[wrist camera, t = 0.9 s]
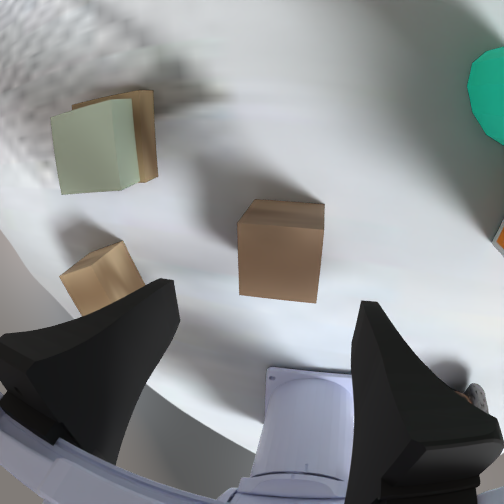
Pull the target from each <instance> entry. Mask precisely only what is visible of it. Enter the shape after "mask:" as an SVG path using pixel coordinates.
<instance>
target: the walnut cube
mask: <svg viewBox="0 0 504 504" xmlns="http://www.w3.org/2000/svg"><path fill="white" fill-rule="evenodd" d="M324 209H325V204H316V203H303V202H290V201H275V200H259V199H255V200H254V201H253V203H252V204H251V205H250V206H249V208H248V209H247V210H246V212H245V213H244V214H243V216H242V217H241V218H240V220H239V221H238V222H237V234H238V268H239V295H244V296H253V297H261V298H270V299H279V300H288V301H297V302H307V303H316V300H317V292H318V284H319V275H320V266H321V256H322V246H323V236H324Z"/></svg>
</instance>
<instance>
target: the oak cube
mask: <svg viewBox="0 0 504 504" xmlns="http://www.w3.org/2000/svg"><path fill="white" fill-rule="evenodd" d="M59 277H60V279H61V281H62V282H63V284H64V286H65V288H66V290H67V291H68V293H69V295H70V297H71V298H72V300H73V302H74V303H75V305H76V307H77V308H78V310H79V312H80V313H81V315H82V316H85V315H88V314H90V313H92V312H95V311H97V310H99V309H101V308H103V307H105V306H107V305H109V304H111V303H113V302H115V301H117V300H119V299H121V298H123V297H125V296H127V295H128V294H130V293H132V292H134V291H136V290H138V289H140V288H141V287H143V286H145V283H144V282H143V280H142V278H141V276H140V274H139V272H138V270H137V268H136V266H135V264H134V262H133V260H132V258H131V256H130V254H129V252H128V250H127V248H126V246H125V244H124V242H123V241H121V242H118V243H115V244H112V245H110V246H107V247H104V248H102V249H99V250H96V251H94V252H91V253H89V254H88V255H86V256H85V257H84V258H82V259H81V260H80V261H79V262H77V263H76V264H75V265H73V266H72V267H71V268H69V269H68V270H67V271H66V272H64V273H63V274H62V275H60V276H59Z"/></svg>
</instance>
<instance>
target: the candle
mask: <svg viewBox="0 0 504 504" xmlns="http://www.w3.org/2000/svg"><path fill="white" fill-rule="evenodd" d="M467 89H468V93H469V98H470V103H471V108H472V113H473V114H474V116H475V117H476V119H477V121H478V122H479V124H480V125H481V127H482V129H483V130H484V132H485V133H486V135H487V136H489V137H491V138H492V139H494V140H495V141H497V142H499V143H500V144H502V145H503V146H504V47H500V48H496V49H493V50H489V51H486V52H485V53H484V54H482V55H481V56H480V57H479V58H478V59H477V60H475V61H474V62H473V63H472V66H471V71H470V75H469V80H468V84H467Z"/></svg>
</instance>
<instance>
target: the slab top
mask: <svg viewBox="0 0 504 504" xmlns="http://www.w3.org/2000/svg"><path fill="white" fill-rule="evenodd" d="M50 119H51V129H52V138H53V146H54V153H55V160H56V166H57V172H58V178H59V184H60V189H61V194H62V195H66V194H78V193H90V192H104V191H120V190H123V189H125V188H127V187H129V186H132V185H134V184H136V183H138V182H140V176H139V168H138V160H137V151H136V142H135V132H134V122H133V110H132V99H112V100H107V101H103V102H100V103H96V104H92V105H89V106H85V107H82V108H79V109H75V110H72V111H69V112H66V113H63V114H60V115H57V116H54V117H51V118H50Z"/></svg>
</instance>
